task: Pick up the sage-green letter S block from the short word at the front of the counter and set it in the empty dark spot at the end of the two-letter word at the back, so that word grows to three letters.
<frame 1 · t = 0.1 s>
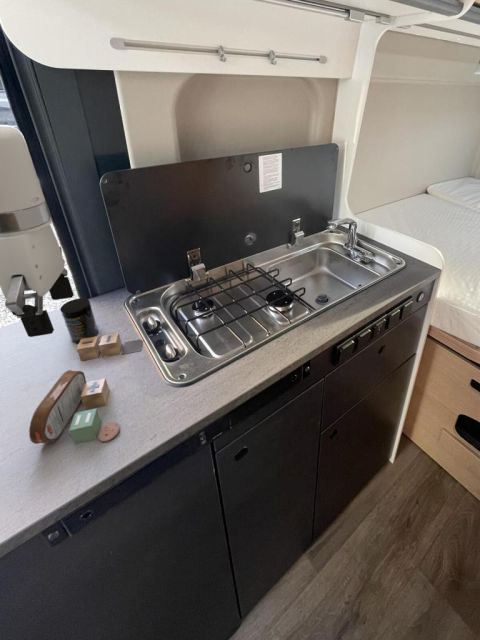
hand: (53, 314, 54), 30 cm above the table, tool pointing down, fingers open, 9 cm apart
front word: (97, 399, 74), on the table
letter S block: (88, 432, 67), on the table
cookie: (109, 433, 67), on the table
tin: (67, 418, 70), on the table
supplement container: (85, 336, 93), on the table
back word: (132, 346, 89), on the table
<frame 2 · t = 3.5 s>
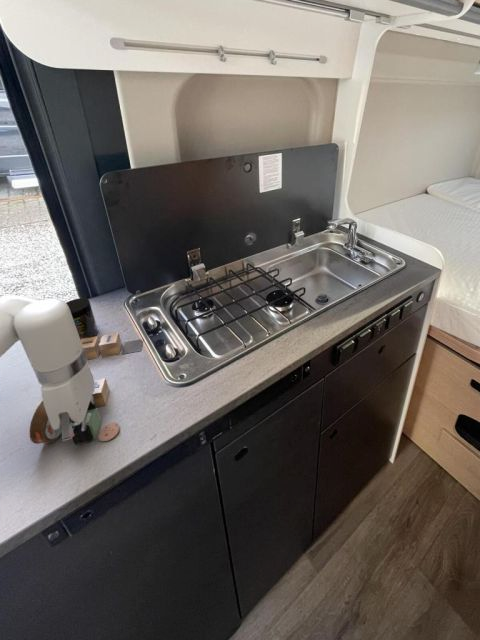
hand: (87, 429, 66), 1 cm above the table, tool pointing down, fingers closed on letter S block, 4 cm apart
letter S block: (88, 432, 67), on the table, touching gripper
everything else where it was.
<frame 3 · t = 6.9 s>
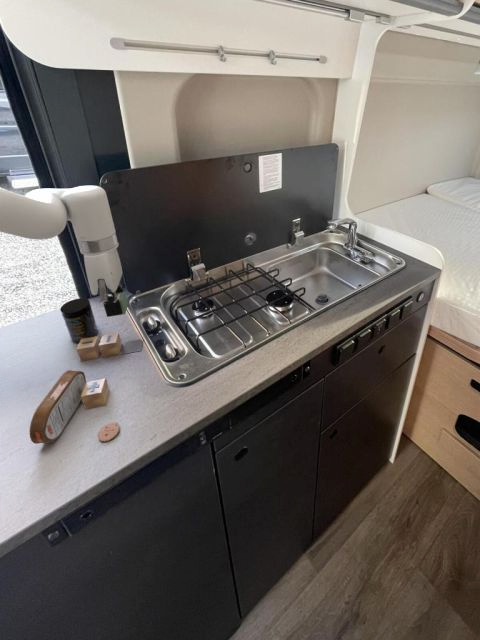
hand: (116, 308, 80), 15 cm above the table, tool pointing down, fingers closed on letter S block, 4 cm apart
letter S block: (117, 310, 81), point 14 cm above the table, touching gripper
everything else where it was.
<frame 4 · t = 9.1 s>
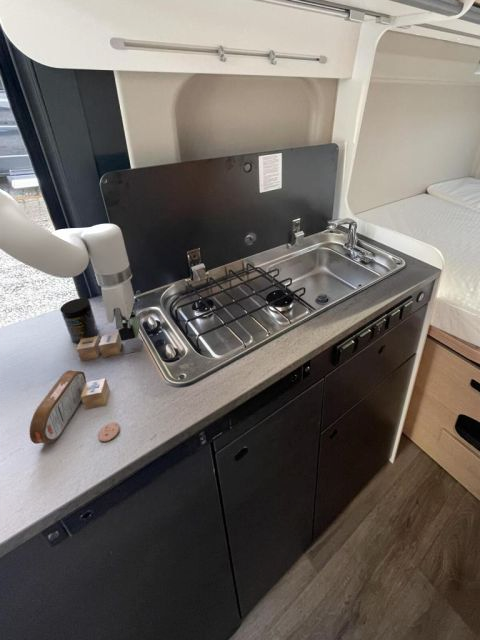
hand: (129, 332, 87), 5 cm above the table, tool pointing down, fingers closed on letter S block, 4 cm apart
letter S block: (130, 334, 87), point 4 cm above the table, touching gripper
everything else where it was.
when the fingers open (1 cm above the table, at t = 10.5 s): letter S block stays where it is, resting on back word.
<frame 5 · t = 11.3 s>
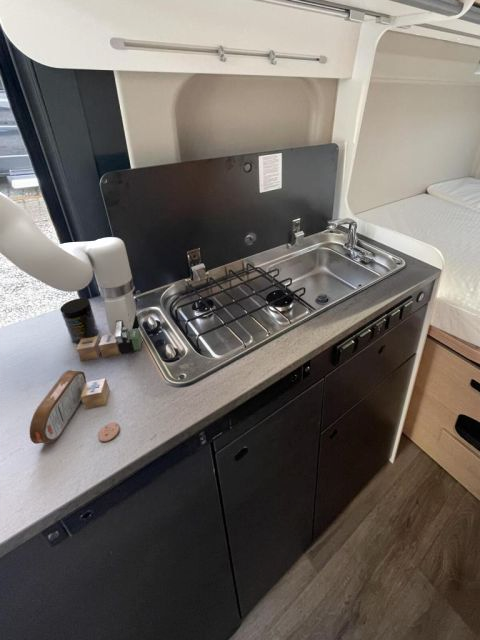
hand: (130, 340, 88), 2 cm above the table, tool pointing down, fingers open, 9 cm apart
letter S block: (133, 346, 89), resting on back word
everything else where it was.
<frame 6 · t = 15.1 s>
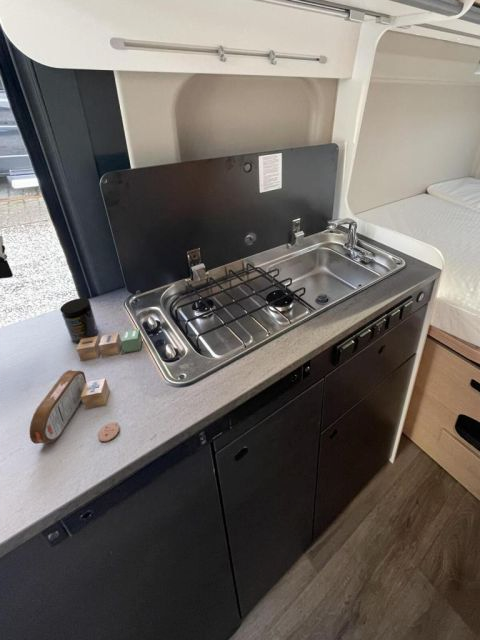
nothing on the table moved.
at the end: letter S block 0.2 cm off-centre on the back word, point 0.1 cm above the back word's base; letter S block tilted 0°; the gripper is holding nothing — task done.
